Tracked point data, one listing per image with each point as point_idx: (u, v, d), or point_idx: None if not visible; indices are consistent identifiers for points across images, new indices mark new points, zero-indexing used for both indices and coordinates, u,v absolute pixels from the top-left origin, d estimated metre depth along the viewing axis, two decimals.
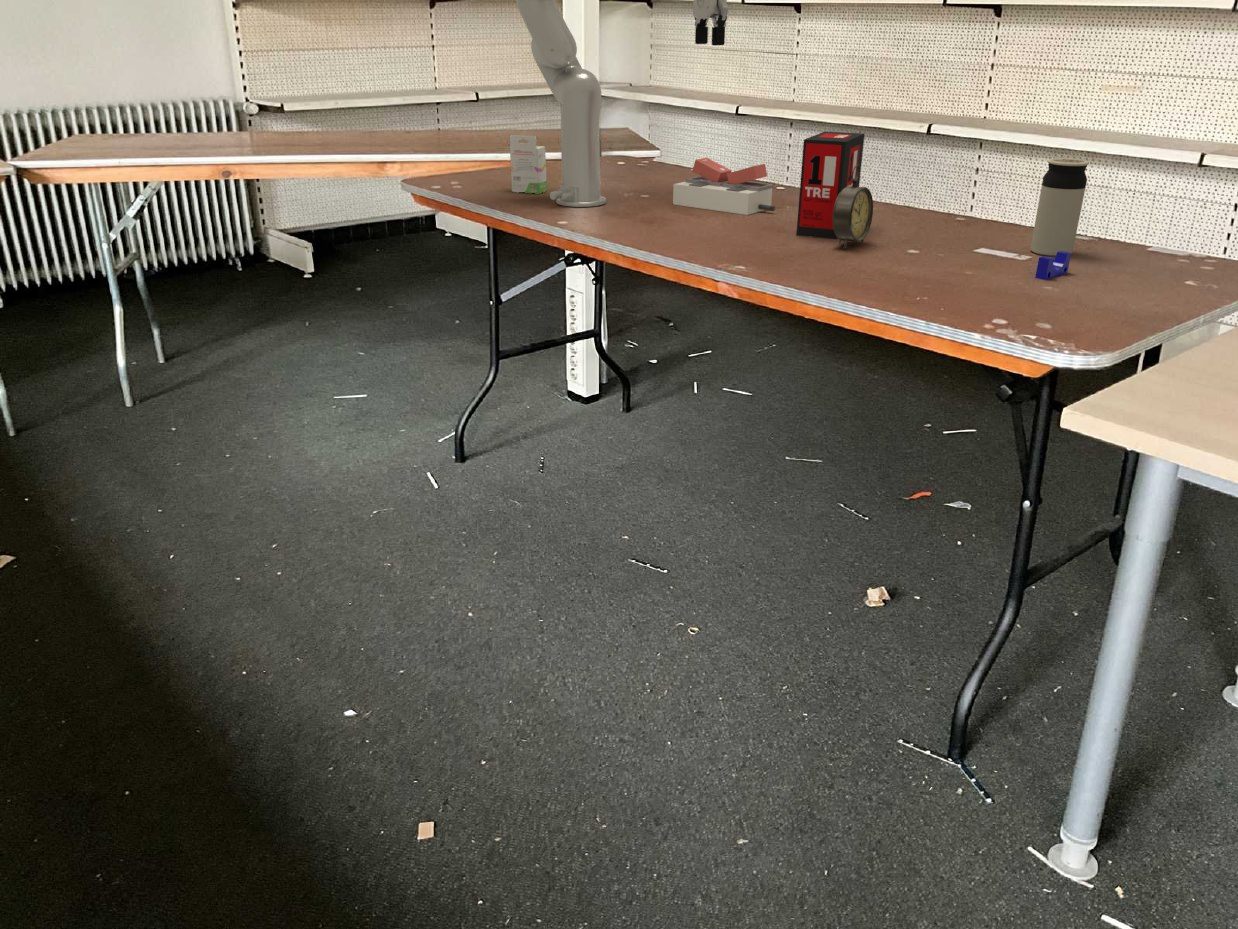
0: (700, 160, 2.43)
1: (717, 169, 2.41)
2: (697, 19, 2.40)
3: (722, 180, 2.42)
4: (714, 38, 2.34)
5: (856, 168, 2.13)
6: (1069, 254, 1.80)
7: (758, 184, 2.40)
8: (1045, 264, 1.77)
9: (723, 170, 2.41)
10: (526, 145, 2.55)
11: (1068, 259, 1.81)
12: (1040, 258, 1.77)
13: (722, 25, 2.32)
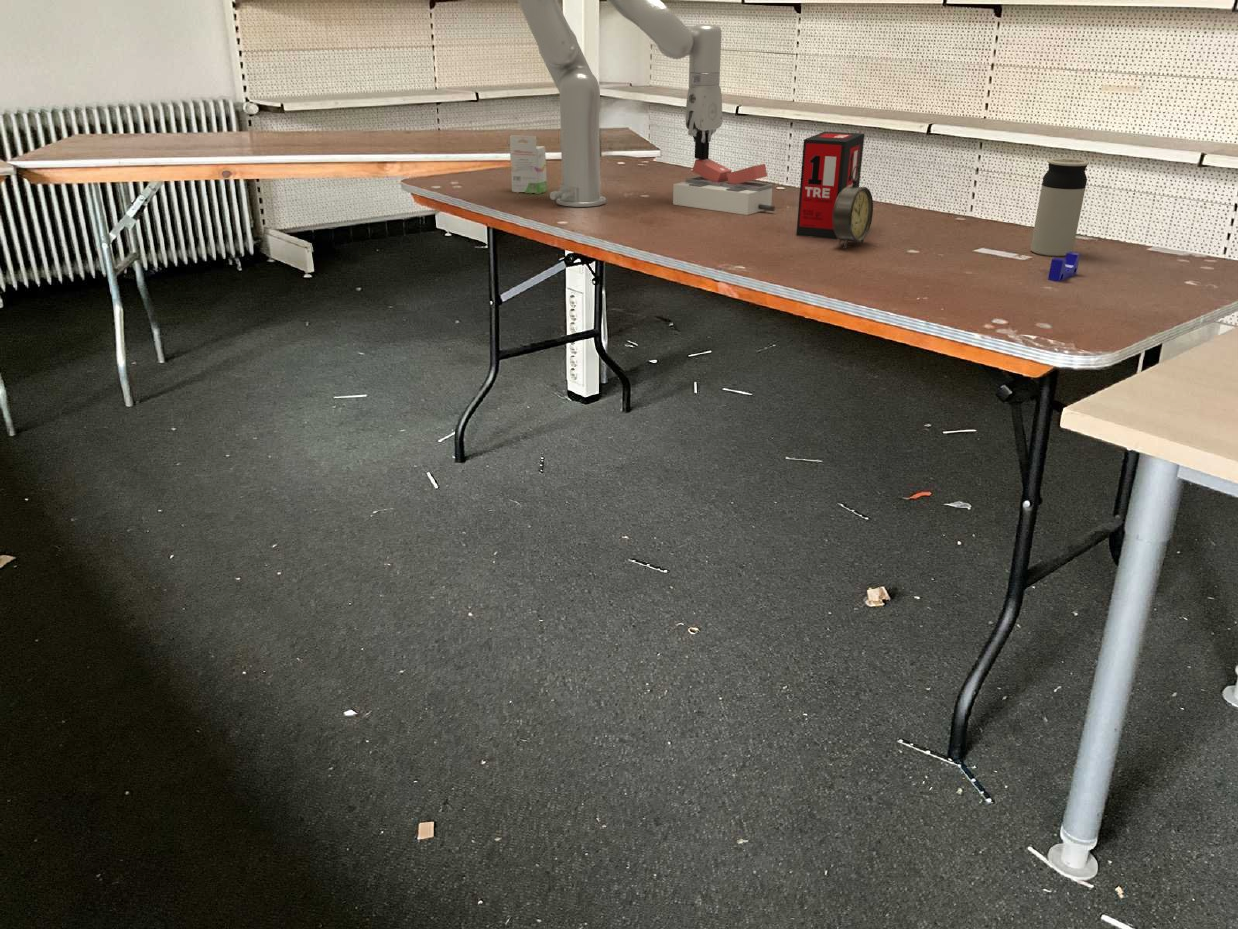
0: (700, 160, 2.43)
1: (717, 169, 2.41)
2: (703, 134, 2.40)
3: (722, 180, 2.42)
4: None
5: (856, 168, 2.13)
6: (1078, 255, 1.80)
7: (758, 184, 2.40)
8: (1058, 266, 1.76)
9: (723, 170, 2.41)
10: (526, 145, 2.55)
11: (1077, 260, 1.80)
12: (1053, 260, 1.76)
13: None
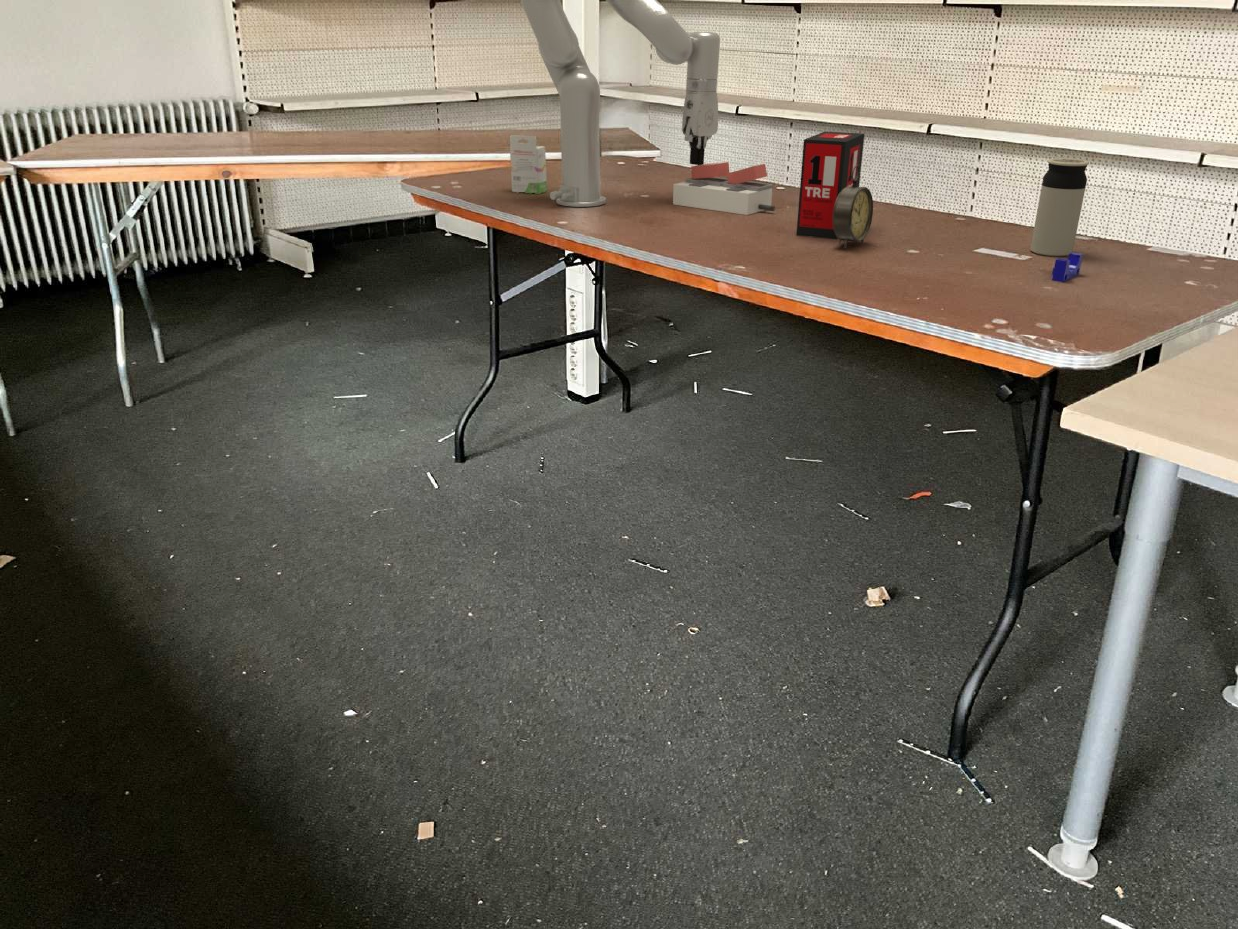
0: None
1: (714, 164, 2.41)
2: (699, 140, 2.42)
3: (722, 172, 2.41)
4: None
5: (856, 168, 2.13)
6: (1081, 255, 1.79)
7: (758, 184, 2.40)
8: (1062, 267, 1.75)
9: (720, 163, 2.41)
10: (526, 145, 2.55)
11: (1080, 260, 1.80)
12: (1057, 260, 1.76)
13: None
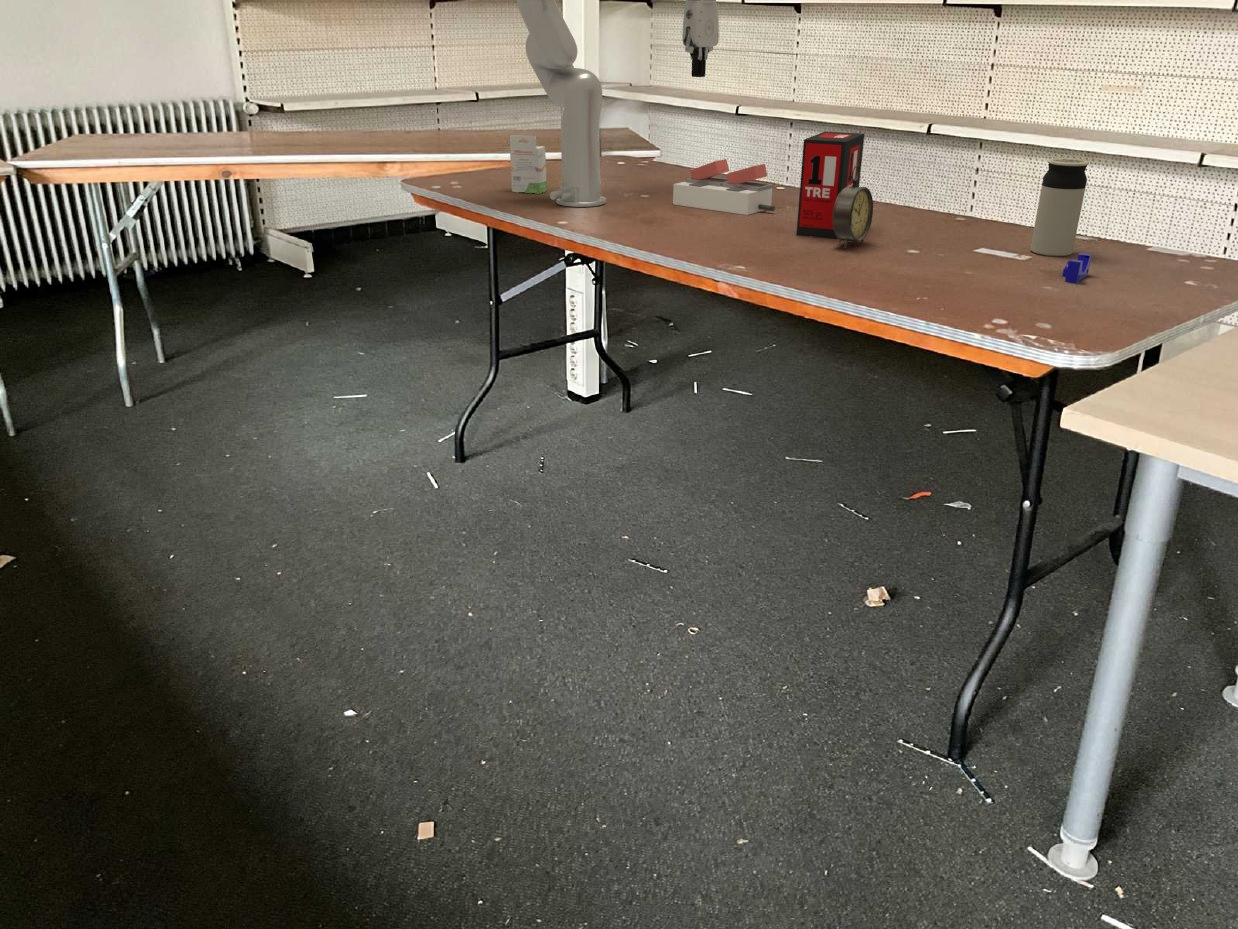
0: None
1: None
2: (700, 51, 2.43)
3: (722, 169, 2.41)
4: None
5: (856, 168, 2.13)
6: (1090, 256, 1.79)
7: (758, 184, 2.40)
8: (1076, 268, 1.74)
9: (718, 160, 2.41)
10: (526, 145, 2.55)
11: (1089, 260, 1.79)
12: (1070, 262, 1.75)
13: None
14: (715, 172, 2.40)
